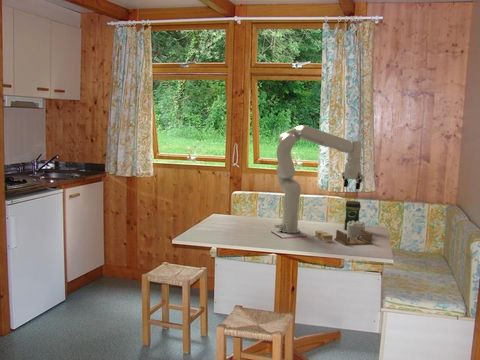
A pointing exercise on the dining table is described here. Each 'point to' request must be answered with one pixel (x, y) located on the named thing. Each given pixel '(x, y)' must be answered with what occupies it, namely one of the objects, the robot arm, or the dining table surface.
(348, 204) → the coffee jar
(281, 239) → the dining table surface
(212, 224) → the dining table surface
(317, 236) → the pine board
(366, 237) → the peg cradle
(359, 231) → the lumpy-topped squat cylinder
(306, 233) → the dining table surface
